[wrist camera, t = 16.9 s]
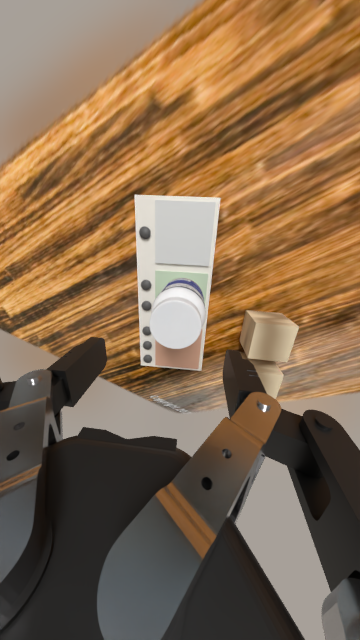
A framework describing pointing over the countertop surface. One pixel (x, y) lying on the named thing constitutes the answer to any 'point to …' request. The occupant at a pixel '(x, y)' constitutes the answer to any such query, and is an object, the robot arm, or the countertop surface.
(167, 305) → the pill bottle
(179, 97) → the countertop surface
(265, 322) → the maple block
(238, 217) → the countertop surface
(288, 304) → the countertop surface
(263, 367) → the maple block
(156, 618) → the robot arm
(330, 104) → the countertop surface
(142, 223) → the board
